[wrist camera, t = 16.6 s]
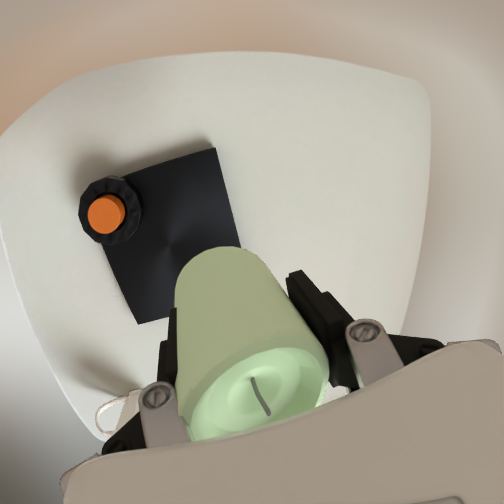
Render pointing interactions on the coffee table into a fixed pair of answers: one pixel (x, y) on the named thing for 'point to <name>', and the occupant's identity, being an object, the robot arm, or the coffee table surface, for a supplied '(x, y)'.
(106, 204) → the button
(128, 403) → the cup
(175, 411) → the robot arm
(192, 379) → the candle
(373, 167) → the coffee table surface
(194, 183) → the scale
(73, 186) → the coffee table surface
